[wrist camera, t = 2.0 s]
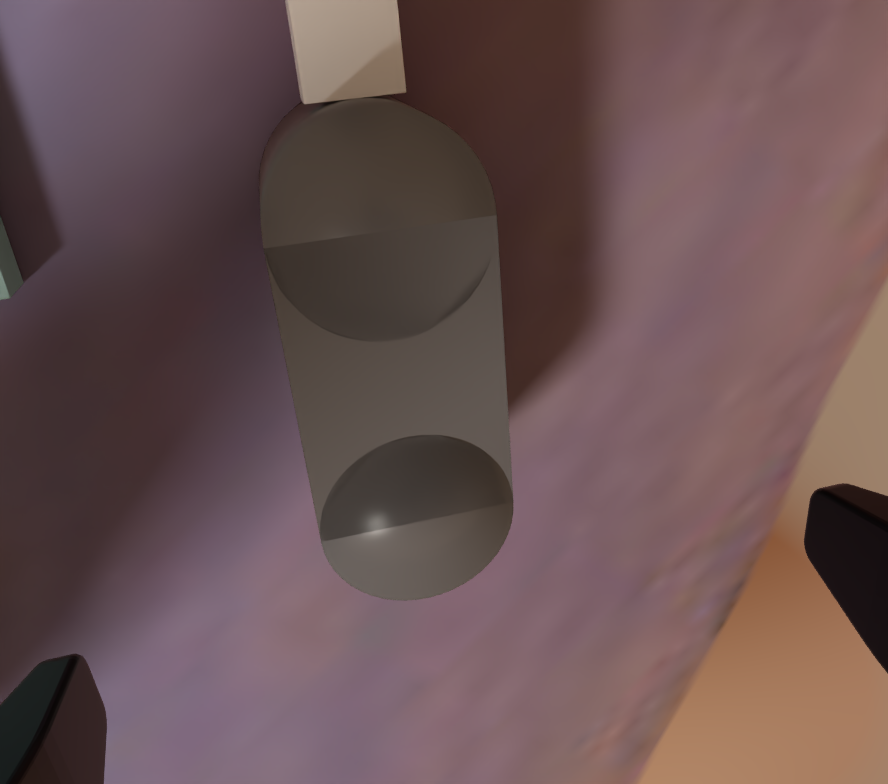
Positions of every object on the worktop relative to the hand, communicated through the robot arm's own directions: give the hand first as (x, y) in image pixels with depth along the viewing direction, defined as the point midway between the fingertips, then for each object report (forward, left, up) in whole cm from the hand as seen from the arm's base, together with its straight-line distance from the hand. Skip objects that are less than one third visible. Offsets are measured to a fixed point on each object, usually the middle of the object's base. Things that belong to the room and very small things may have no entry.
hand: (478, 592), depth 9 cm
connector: (+1, 0, -10) cm, 10 cm away
